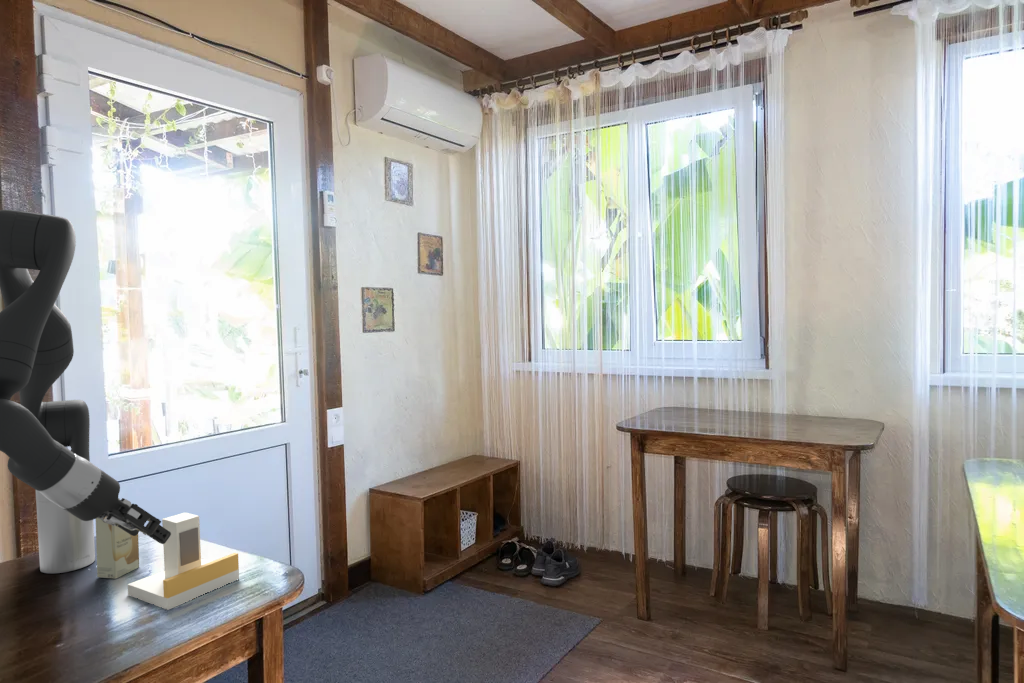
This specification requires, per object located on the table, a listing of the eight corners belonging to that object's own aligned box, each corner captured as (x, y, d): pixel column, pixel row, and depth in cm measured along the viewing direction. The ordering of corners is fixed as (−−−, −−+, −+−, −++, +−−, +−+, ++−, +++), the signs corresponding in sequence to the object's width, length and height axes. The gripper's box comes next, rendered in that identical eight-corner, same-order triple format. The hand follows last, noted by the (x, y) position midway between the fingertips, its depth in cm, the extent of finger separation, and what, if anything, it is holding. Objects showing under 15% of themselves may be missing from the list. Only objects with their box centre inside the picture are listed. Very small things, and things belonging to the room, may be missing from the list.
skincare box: (115, 579, 124) (112, 516, 123) (96, 578, 125) (93, 515, 124) (141, 566, 130) (138, 506, 130) (122, 565, 131) (119, 505, 130)
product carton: (164, 578, 120) (162, 518, 119) (187, 569, 123) (185, 512, 123) (179, 583, 117) (176, 523, 116) (202, 574, 121) (199, 516, 120)
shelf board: (128, 595, 117) (126, 567, 117) (199, 567, 129) (198, 542, 129) (167, 610, 111) (166, 581, 111) (239, 579, 123) (238, 553, 123)
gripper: (120, 471, 103) (190, 521, 113) (72, 461, 110) (142, 510, 120) (85, 514, 98) (162, 562, 109) (38, 501, 106) (114, 547, 116)
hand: (152, 534), depth 115 cm, fingers open, 8 cm apart
